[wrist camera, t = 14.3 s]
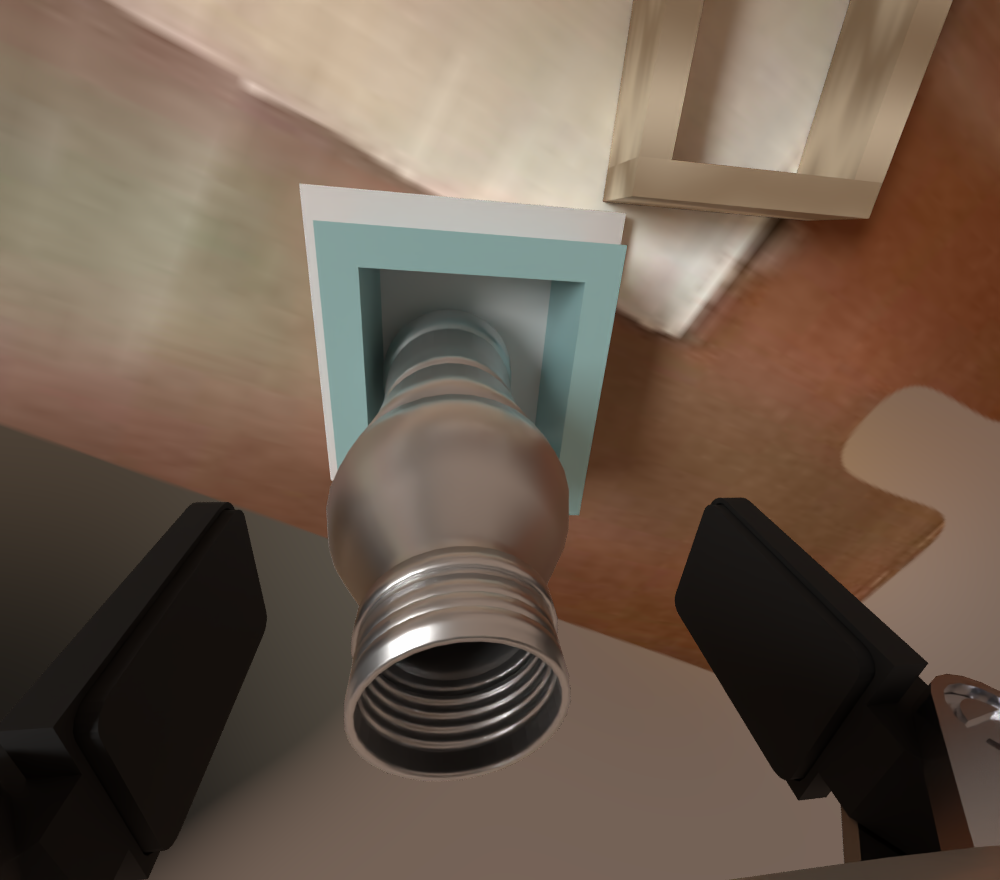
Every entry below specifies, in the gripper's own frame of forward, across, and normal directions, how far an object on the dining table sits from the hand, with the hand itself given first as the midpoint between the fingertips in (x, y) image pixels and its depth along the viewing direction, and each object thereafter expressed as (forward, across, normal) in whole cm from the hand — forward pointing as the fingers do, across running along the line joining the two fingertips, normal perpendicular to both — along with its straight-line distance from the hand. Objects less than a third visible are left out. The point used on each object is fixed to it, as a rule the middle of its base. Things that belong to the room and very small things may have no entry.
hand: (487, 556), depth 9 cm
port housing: (+18, 0, +1) cm, 18 cm away
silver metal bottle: (+18, 0, +1) cm, 18 cm away
